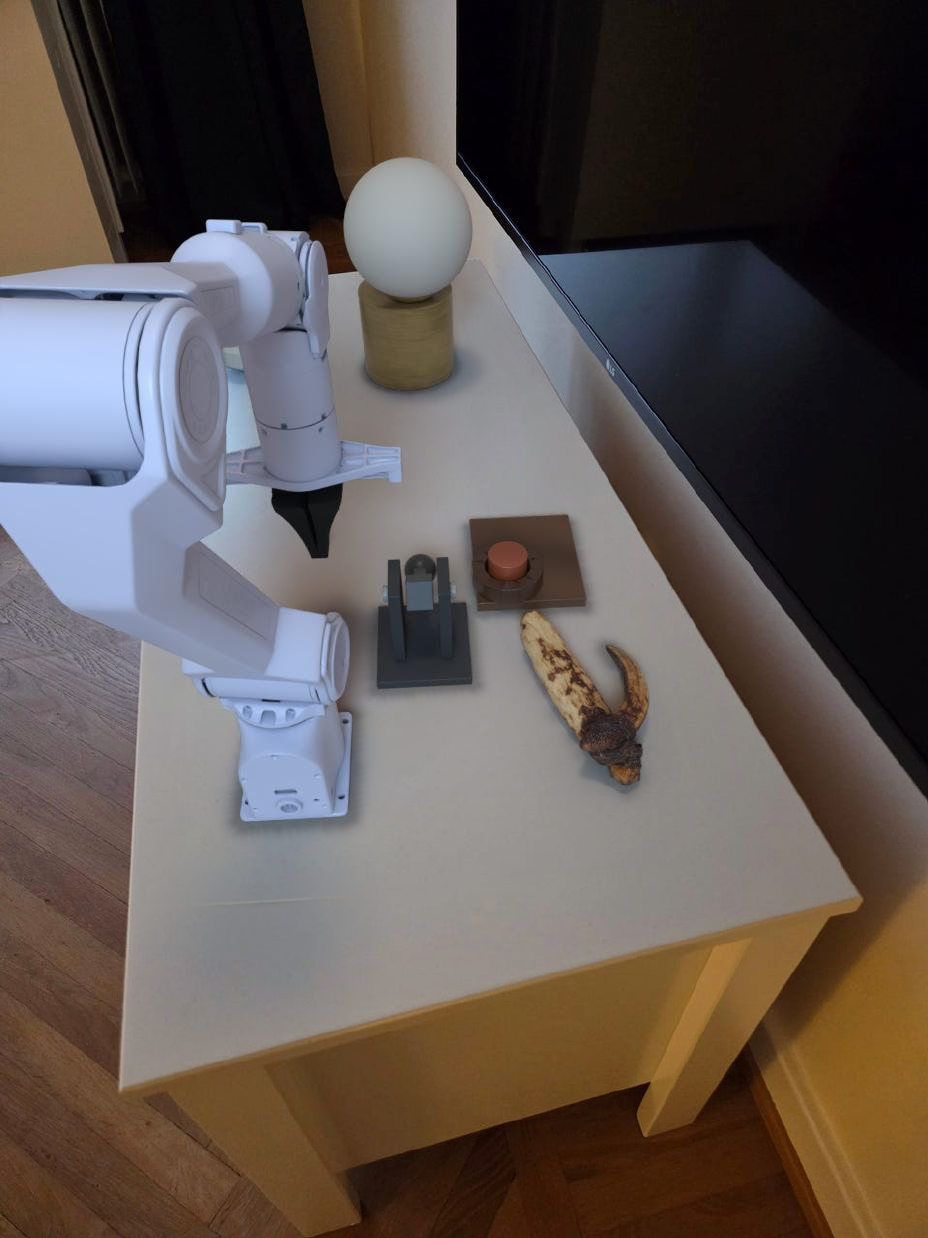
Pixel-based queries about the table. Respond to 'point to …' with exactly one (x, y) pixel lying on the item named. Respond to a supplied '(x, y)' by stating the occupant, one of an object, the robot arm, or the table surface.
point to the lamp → (407, 268)
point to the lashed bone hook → (590, 699)
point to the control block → (528, 564)
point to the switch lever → (419, 582)
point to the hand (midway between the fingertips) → (320, 550)
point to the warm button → (507, 561)
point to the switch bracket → (422, 636)
